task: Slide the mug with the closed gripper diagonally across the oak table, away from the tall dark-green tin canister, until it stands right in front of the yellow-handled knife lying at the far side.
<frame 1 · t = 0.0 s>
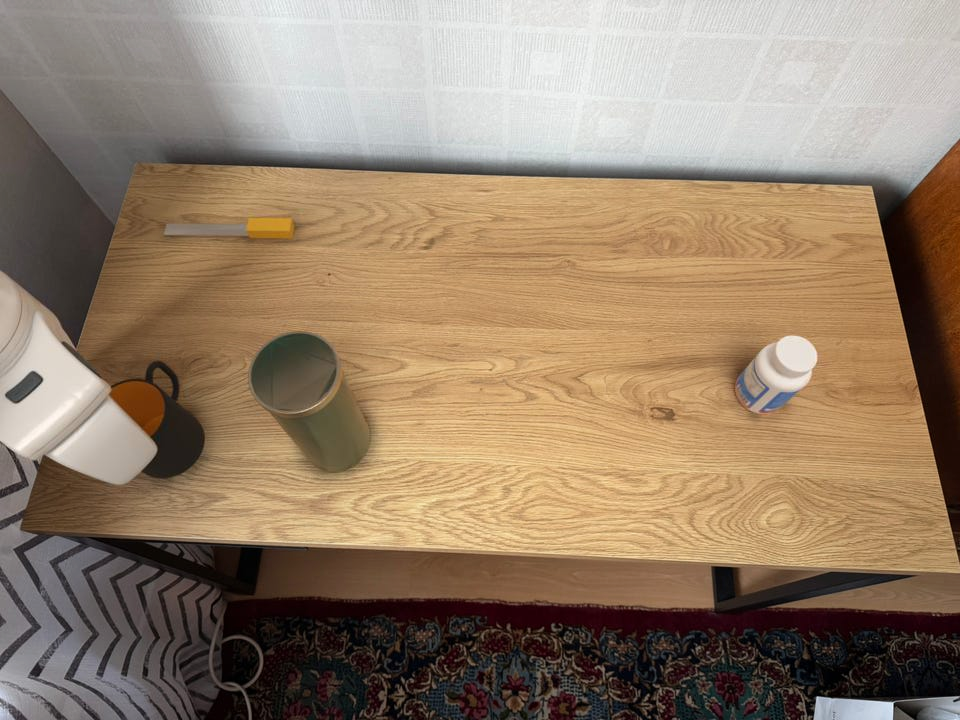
hand: (95, 418, 54), 22 cm above the table, tool pointing down, fingers open, 8 cm apart
mug: (174, 430, 77), on the table
knife: (233, 231, 89), on the table
canister: (337, 439, 76), on the table
pill bottle: (757, 393, 79), on the table
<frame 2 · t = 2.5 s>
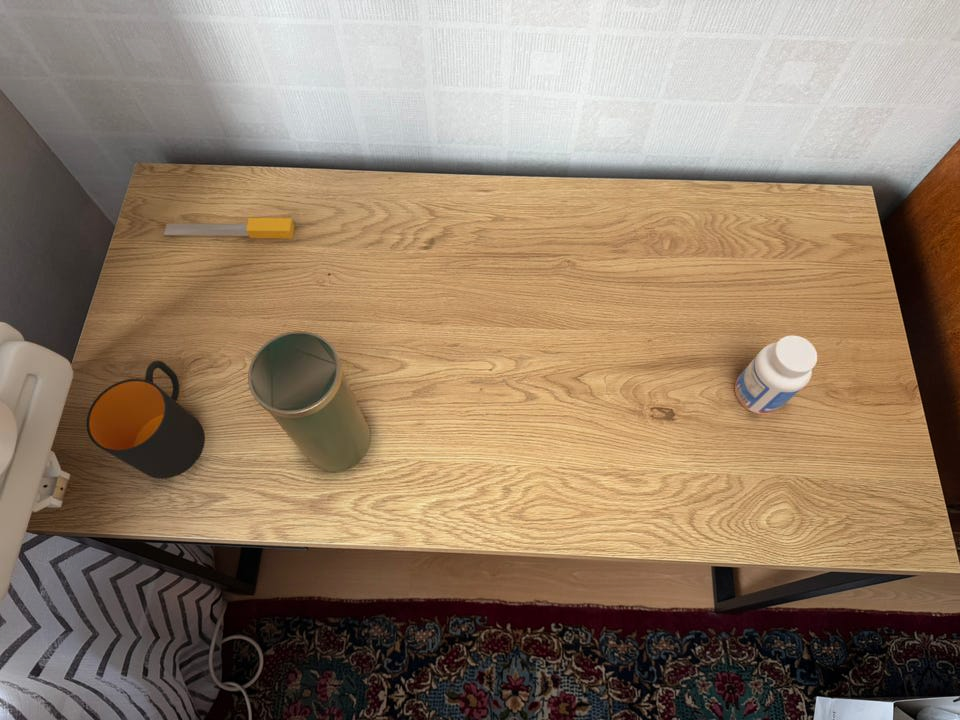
hand: (58, 491, 55), 18 cm above the table, tool pointing down, fingers closed
nothing on the table moved.
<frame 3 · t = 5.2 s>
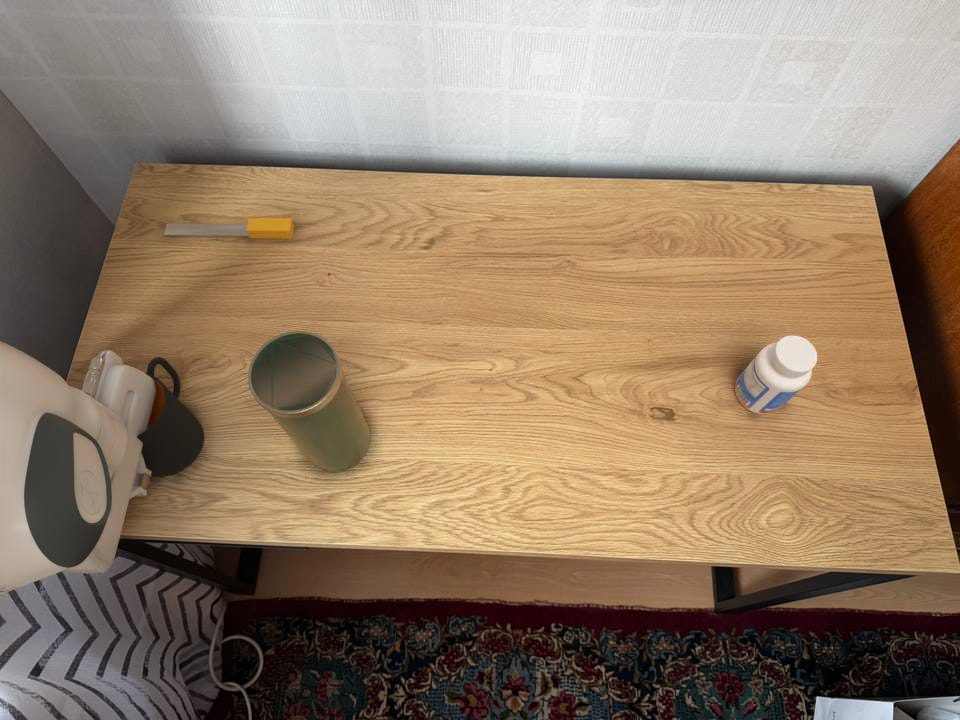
hand: (142, 483, 69), 4 cm above the table, tool pointing down, fingers closed
mug: (174, 430, 76), on the table, touching gripper
everything else where it was.
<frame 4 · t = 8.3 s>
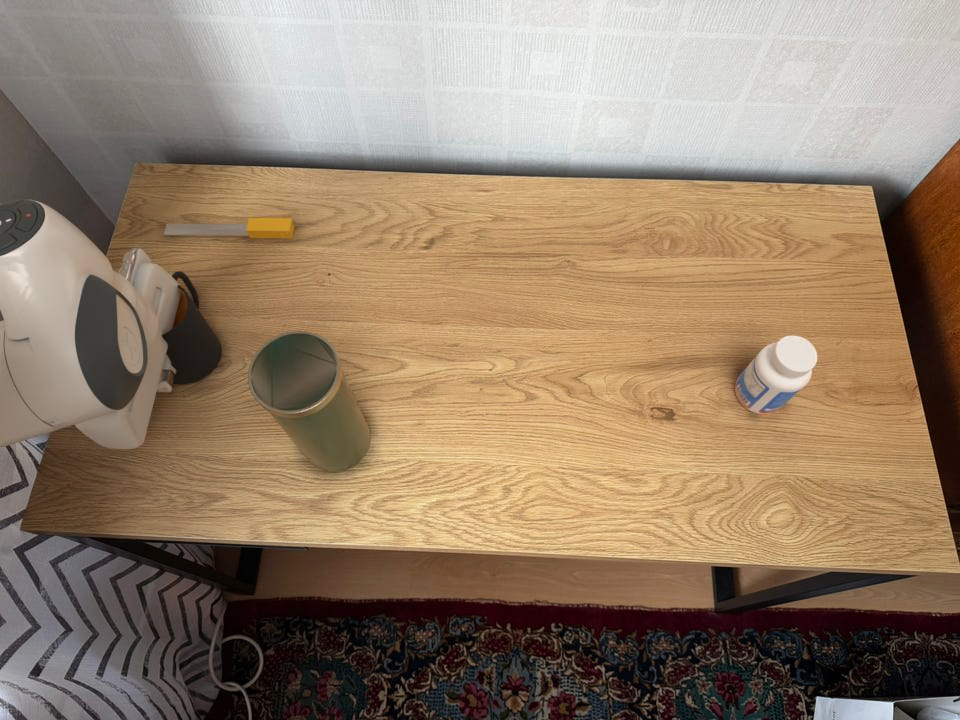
hand: (167, 381, 75), 4 cm above the table, tool pointing down, fingers closed
mug: (193, 345, 81), on the table, touching gripper
everything else where it was.
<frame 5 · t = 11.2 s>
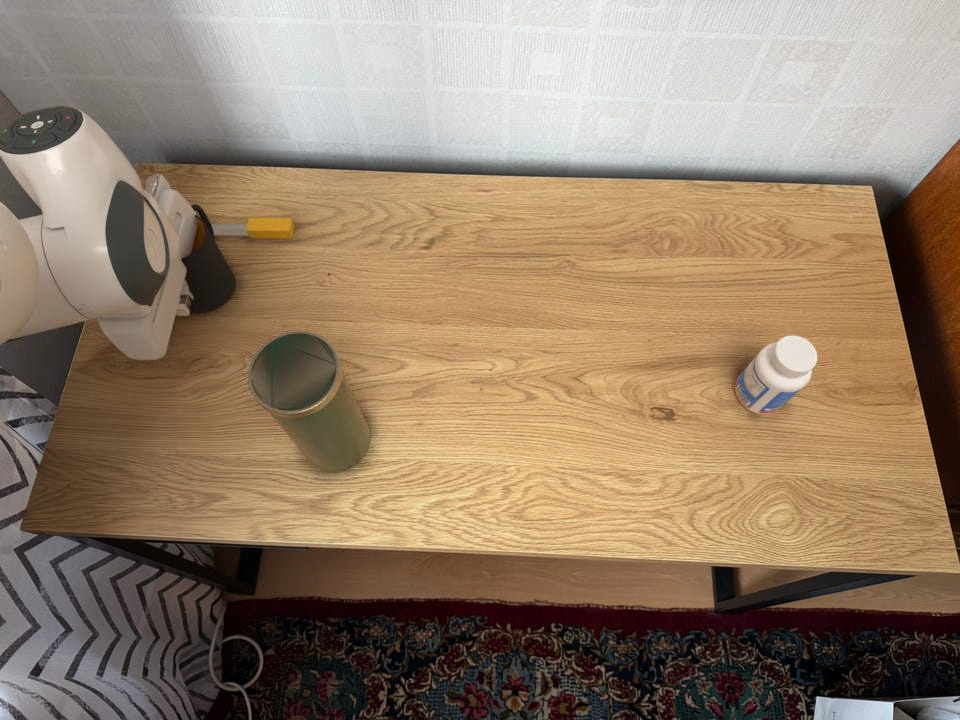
hand: (185, 306, 79), 4 cm above the table, tool pointing down, fingers closed
mug: (208, 277, 86), on the table, touching gripper
everything else where it was.
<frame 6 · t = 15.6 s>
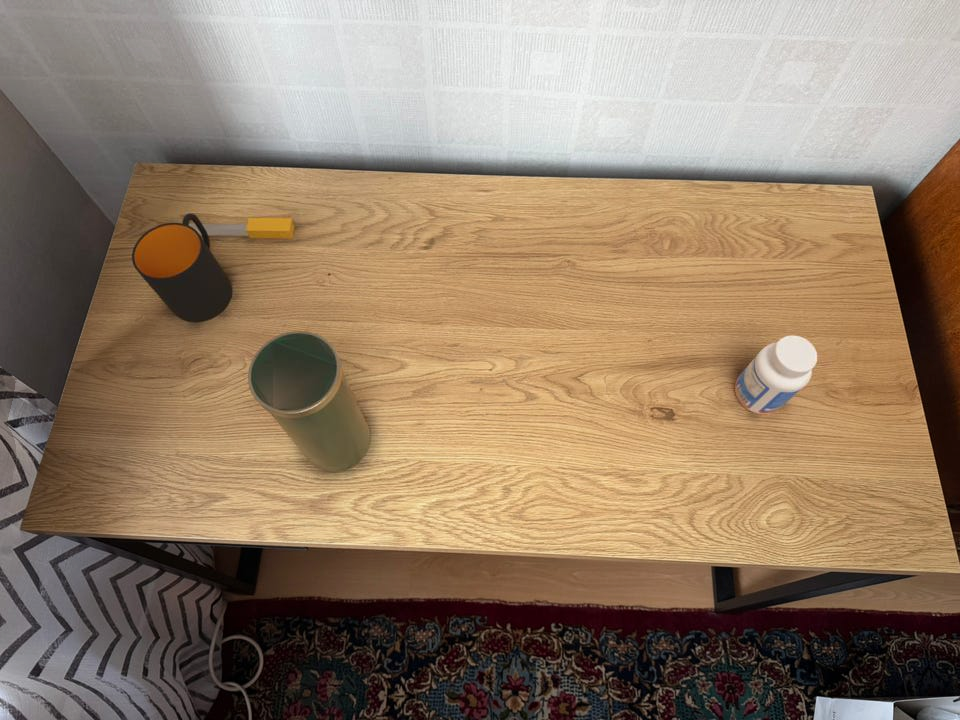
mug: (205, 284, 86), on the table
everything else where it was.
at the end: mug 9.0 cm from the knife (horizontally); mug tilted 0°; canister moved 0.0 cm from its start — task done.
